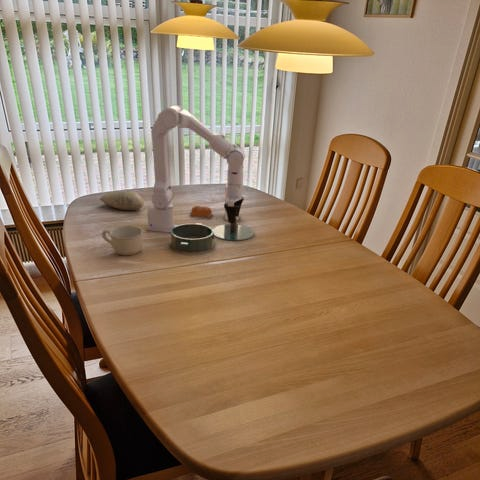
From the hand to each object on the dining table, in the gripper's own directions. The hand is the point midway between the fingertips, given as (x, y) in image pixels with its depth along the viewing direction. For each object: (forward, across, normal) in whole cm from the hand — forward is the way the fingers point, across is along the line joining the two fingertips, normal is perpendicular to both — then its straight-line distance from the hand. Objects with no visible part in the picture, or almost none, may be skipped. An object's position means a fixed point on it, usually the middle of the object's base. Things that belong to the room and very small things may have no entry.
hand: (233, 219), depth 167 cm
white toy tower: (+6, +17, +4) cm, 19 cm away
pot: (+6, -15, +12) cm, 20 cm away
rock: (+6, +16, +51) cm, 54 cm away
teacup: (+6, -27, +33) cm, 43 cm away
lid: (+5, 0, 0) cm, 5 cm away
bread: (+6, +16, +17) cm, 24 cm away
